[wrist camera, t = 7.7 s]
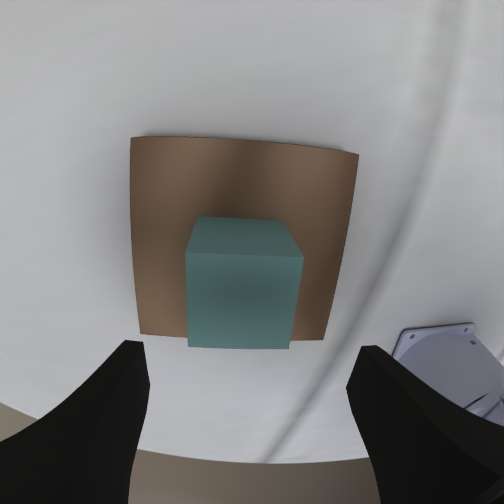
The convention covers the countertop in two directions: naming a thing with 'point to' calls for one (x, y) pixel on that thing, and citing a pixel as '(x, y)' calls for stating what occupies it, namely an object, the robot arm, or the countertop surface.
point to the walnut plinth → (235, 216)
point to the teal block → (241, 283)
